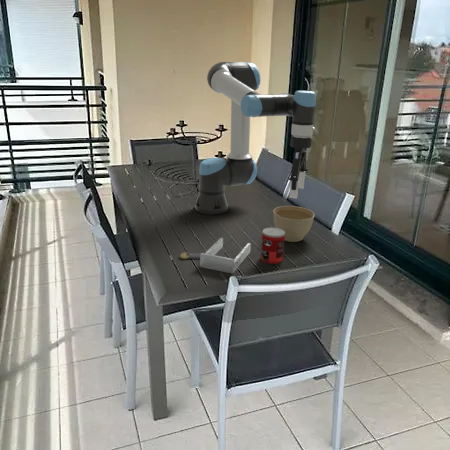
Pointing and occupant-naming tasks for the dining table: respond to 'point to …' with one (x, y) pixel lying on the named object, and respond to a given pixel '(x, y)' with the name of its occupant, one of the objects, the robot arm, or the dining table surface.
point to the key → (190, 255)
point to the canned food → (272, 245)
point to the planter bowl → (293, 221)
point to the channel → (222, 258)
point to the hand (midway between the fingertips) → (296, 192)
